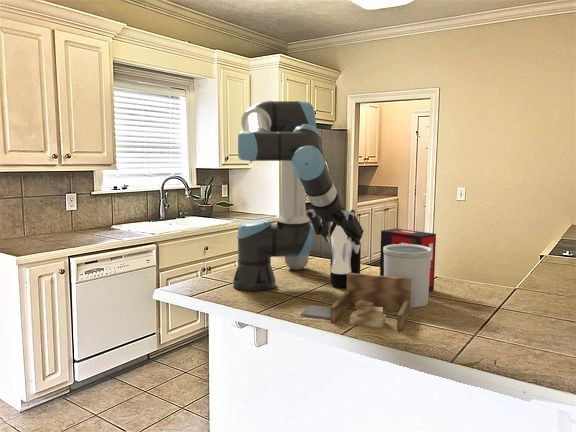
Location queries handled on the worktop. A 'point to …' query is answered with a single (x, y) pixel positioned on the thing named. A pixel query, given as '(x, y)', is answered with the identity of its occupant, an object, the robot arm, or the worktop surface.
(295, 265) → the glass bottle
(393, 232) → the cleaning product box
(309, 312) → the coaster
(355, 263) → the coffee jar
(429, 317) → the worktop surface
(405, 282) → the open wooden frame
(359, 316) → the offcut stack
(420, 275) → the utensil holder
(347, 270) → the beer glass
